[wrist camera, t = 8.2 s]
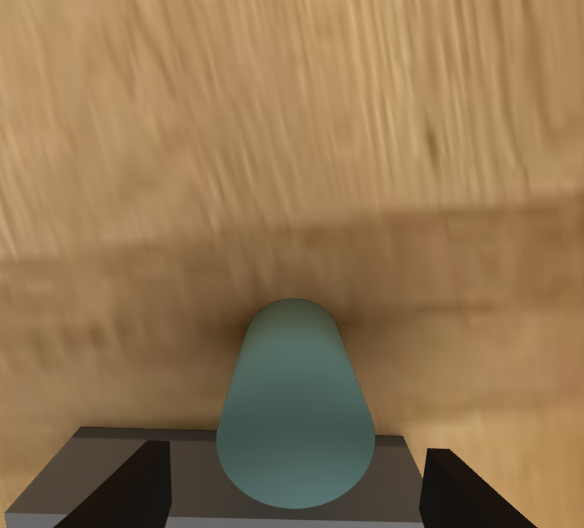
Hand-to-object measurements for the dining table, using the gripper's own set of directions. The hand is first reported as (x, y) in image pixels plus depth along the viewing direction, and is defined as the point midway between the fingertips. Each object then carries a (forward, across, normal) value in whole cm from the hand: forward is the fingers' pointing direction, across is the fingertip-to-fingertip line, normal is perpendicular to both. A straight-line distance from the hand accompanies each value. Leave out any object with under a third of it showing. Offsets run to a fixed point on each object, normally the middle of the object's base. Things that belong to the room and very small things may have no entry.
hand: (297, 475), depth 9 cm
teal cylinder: (+8, 0, 0) cm, 8 cm away
